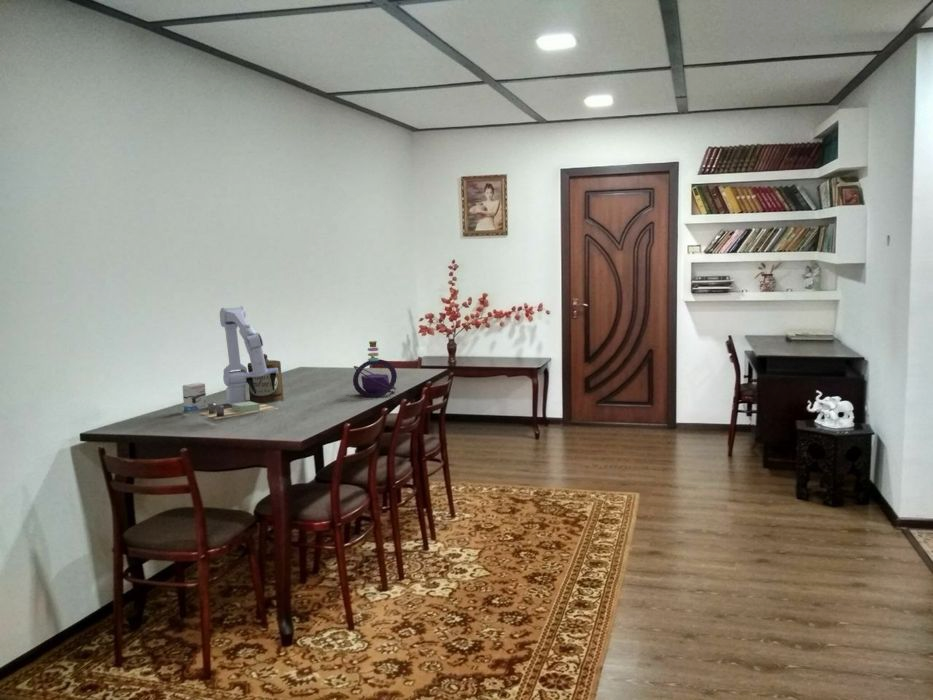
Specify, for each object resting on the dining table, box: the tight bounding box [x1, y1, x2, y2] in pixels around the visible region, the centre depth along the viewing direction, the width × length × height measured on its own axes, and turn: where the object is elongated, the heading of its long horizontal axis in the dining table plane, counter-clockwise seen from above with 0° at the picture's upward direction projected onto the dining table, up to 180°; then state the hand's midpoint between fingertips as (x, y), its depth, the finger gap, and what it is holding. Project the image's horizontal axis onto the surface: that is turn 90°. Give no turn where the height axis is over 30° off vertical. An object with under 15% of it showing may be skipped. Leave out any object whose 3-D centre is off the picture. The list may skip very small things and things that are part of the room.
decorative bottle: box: [352, 340, 398, 399], centre depth 359 cm, size 22×21×25 cm
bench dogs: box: [207, 402, 225, 417], centre depth 318 cm, size 11×3×4 cm, turn 41°
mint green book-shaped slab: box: [231, 400, 260, 413], centre depth 327 cm, size 10×8×2 cm
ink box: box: [182, 382, 208, 412], centre depth 332 cm, size 8×5×12 cm, turn 149°
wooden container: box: [247, 353, 284, 404], centre depth 348 cm, size 15×15×22 cm
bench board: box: [199, 403, 280, 420], centre depth 325 cm, size 18×28×1 cm, turn 131°
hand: (264, 391), depth 327 cm, fingers open, 7 cm apart
